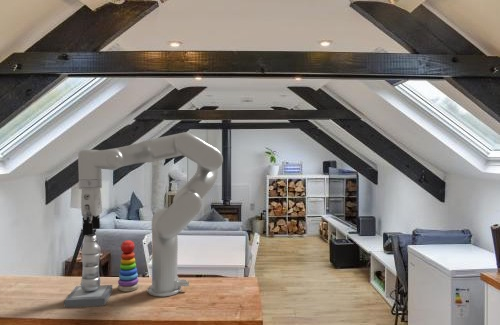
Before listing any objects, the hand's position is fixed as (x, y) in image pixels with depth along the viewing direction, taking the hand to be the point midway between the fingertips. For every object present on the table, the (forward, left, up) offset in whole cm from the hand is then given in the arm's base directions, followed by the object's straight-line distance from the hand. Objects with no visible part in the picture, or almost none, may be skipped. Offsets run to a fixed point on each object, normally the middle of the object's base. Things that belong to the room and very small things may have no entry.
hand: (91, 231), depth 134 cm
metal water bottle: (+1, -1, -22) cm, 22 cm away
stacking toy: (-11, -9, -25) cm, 29 cm away
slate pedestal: (+1, 0, -24) cm, 24 cm away
